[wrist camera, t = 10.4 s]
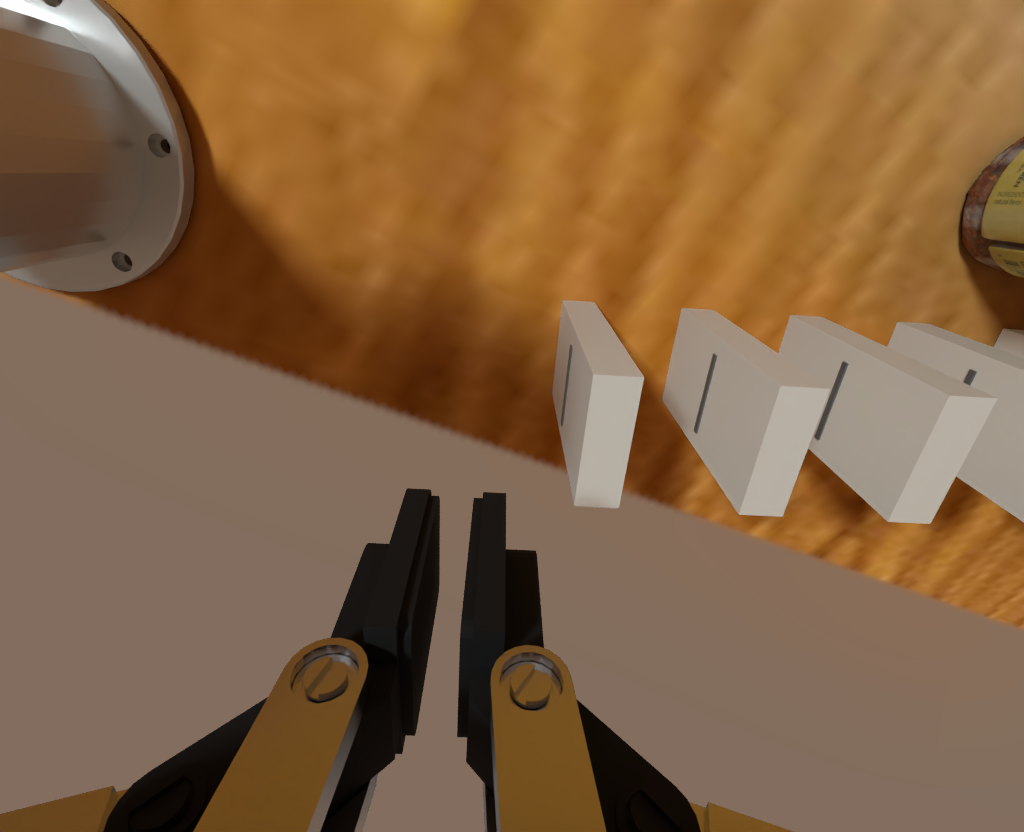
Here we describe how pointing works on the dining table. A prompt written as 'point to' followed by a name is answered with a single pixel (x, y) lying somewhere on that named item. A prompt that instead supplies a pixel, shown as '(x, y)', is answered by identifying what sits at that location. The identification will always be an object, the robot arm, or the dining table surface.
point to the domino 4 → (1011, 423)
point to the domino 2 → (742, 410)
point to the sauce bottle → (998, 213)
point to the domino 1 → (594, 404)
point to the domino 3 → (886, 418)
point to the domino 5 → (1011, 342)
